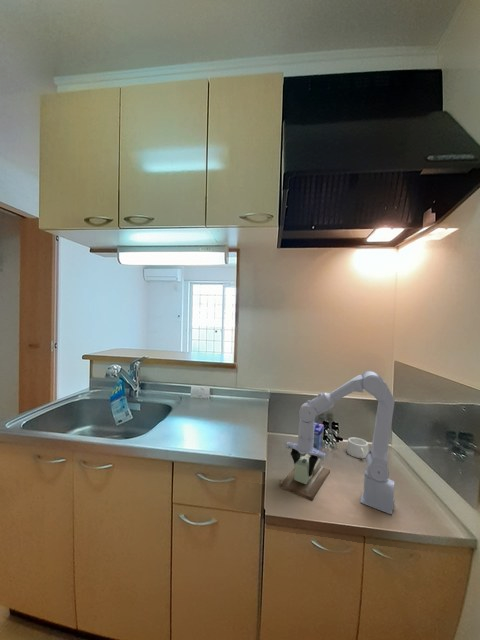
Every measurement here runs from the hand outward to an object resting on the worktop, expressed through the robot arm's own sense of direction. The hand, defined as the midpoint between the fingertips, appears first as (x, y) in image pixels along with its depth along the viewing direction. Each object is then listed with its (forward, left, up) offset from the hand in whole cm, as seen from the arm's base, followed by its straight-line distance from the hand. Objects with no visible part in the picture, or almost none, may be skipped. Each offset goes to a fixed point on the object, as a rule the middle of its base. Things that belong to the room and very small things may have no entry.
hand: (303, 472), depth 103 cm
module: (0, 0, -2) cm, 2 cm away
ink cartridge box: (+5, -27, -4) cm, 28 cm away
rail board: (0, -3, -4) cm, 5 cm away
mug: (-12, -38, -4) cm, 41 cm away
